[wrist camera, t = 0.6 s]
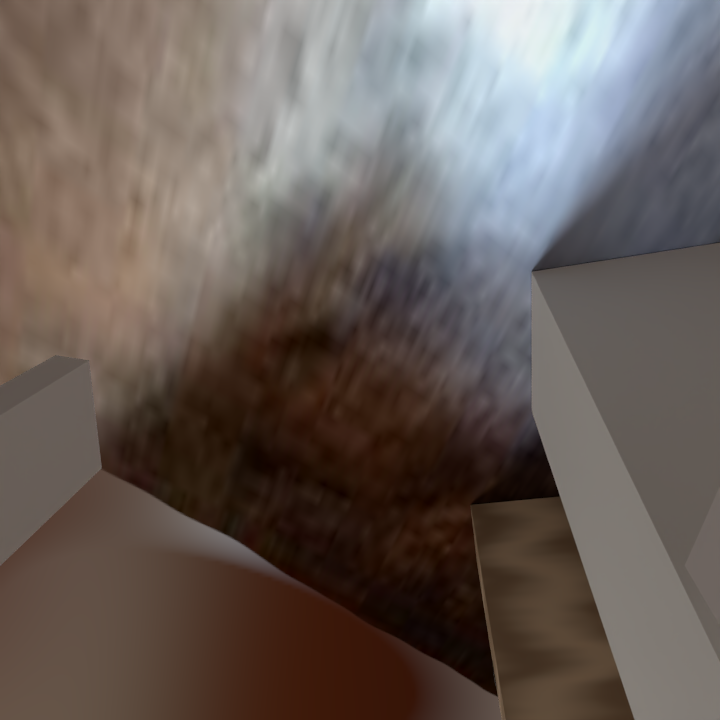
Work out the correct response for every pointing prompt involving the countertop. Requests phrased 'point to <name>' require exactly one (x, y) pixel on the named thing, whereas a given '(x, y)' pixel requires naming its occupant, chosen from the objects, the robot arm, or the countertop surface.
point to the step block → (638, 456)
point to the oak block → (543, 616)
